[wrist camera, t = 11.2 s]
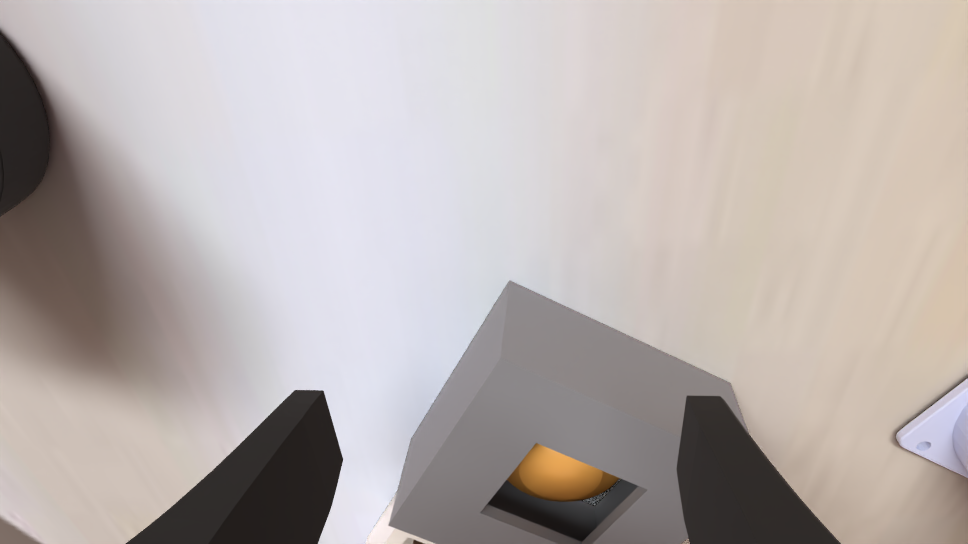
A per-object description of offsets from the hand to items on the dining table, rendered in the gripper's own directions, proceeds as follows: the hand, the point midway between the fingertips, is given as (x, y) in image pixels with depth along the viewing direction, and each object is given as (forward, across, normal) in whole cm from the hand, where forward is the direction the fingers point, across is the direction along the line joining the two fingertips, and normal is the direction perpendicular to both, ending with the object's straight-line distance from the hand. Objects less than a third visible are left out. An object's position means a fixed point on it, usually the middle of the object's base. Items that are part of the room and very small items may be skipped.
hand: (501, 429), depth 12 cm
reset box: (+10, -1, +10) cm, 14 cm away
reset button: (+9, -1, +10) cm, 13 cm away
